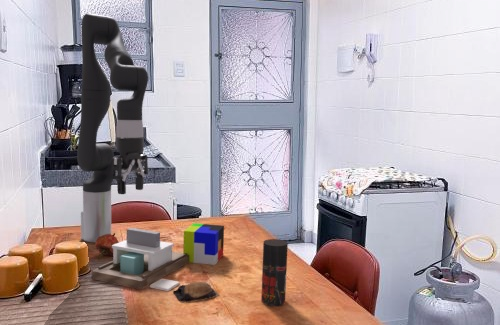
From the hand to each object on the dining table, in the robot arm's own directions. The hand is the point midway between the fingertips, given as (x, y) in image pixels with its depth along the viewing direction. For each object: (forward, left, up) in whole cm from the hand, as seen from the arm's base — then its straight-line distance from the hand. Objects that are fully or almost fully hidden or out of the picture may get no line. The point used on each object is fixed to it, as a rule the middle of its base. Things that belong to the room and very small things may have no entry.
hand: (130, 191), depth 139 cm
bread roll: (+28, -10, -23) cm, 37 cm away
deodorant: (+47, -5, -22) cm, 52 cm away
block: (+6, -7, -22) cm, 24 cm away
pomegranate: (-11, +3, -22) cm, 25 cm away
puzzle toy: (+16, +16, -23) cm, 32 cm away
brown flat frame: (+6, -2, -22) cm, 23 cm away
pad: (+18, -9, -22) cm, 30 cm away
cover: (+6, -2, -19) cm, 20 cm away
